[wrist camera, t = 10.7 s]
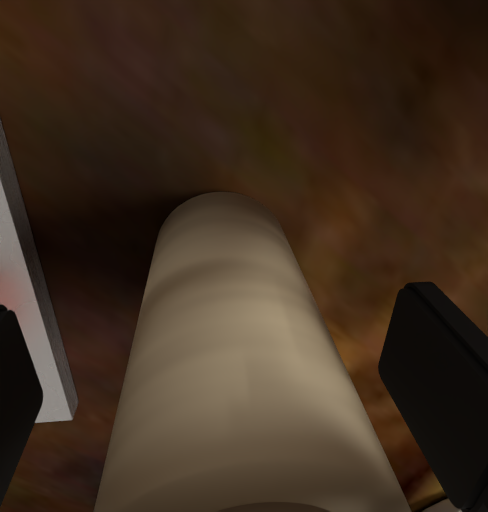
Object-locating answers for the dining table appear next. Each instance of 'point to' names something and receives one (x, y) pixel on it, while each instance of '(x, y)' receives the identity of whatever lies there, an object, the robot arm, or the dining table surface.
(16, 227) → the station
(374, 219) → the dining table surface
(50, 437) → the dining table surface
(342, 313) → the dining table surface
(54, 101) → the dining table surface
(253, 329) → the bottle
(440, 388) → the robot arm
